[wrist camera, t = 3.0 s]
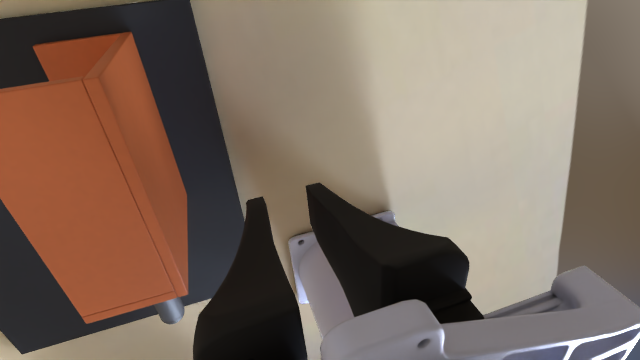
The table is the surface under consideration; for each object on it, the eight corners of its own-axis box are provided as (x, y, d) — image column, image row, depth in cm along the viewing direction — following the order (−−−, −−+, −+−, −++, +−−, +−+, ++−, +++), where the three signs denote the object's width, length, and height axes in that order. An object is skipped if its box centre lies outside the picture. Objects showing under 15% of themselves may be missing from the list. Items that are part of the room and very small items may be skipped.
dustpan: (131, 31, 19) (98, 76, 12) (209, 261, 28) (219, 368, 21) (35, 44, 18) (-67, 102, 11) (148, 278, 27) (136, 397, 20)
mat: (188, -4, 19) (188, -3, 19) (259, 280, 31) (260, 284, 31) (-246, 48, 15) (-256, 49, 15) (23, 349, 27) (21, 354, 27)
